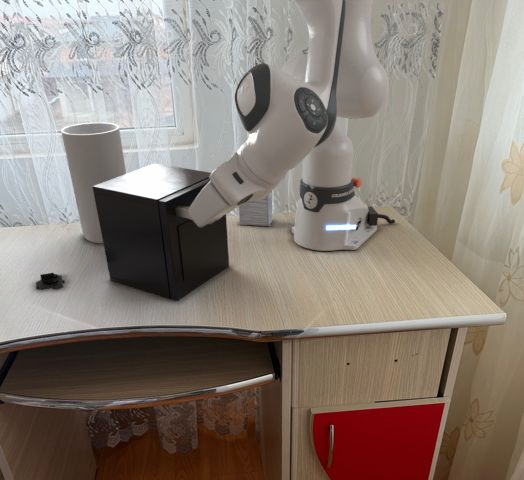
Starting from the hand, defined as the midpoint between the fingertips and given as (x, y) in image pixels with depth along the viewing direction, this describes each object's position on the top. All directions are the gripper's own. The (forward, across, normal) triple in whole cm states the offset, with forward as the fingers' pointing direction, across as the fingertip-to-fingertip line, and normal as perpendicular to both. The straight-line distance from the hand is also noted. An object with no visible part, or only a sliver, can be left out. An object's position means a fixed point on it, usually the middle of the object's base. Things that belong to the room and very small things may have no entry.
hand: (211, 219), depth 102 cm
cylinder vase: (+38, -10, -18) cm, 43 cm away
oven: (+19, 0, +1) cm, 19 cm away
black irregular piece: (+32, +16, -12) cm, 38 cm away
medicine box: (+18, -34, +2) cm, 39 cm away
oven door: (+11, 0, +9) cm, 14 cm away
